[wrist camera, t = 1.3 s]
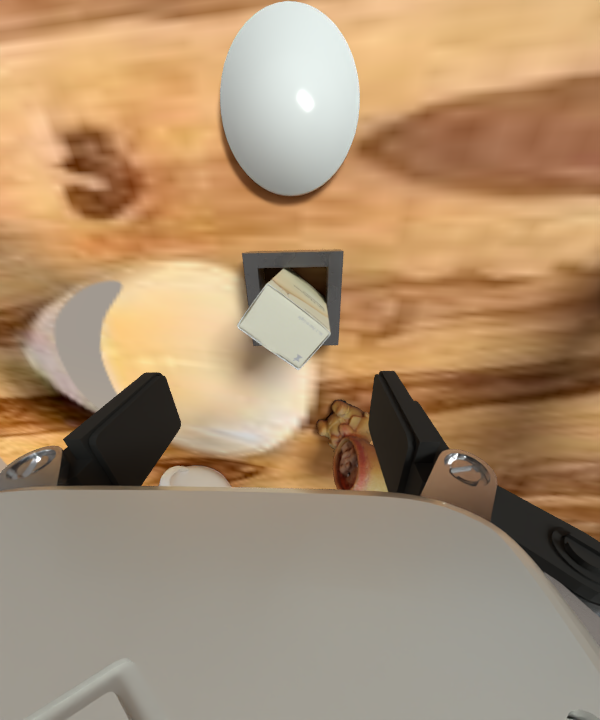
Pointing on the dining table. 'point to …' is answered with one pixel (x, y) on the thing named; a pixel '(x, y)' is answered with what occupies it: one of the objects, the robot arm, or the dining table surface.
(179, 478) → the teapot
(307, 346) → the skincare box
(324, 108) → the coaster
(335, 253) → the socket block
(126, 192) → the dining table surface
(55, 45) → the dining table surface
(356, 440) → the figurine
